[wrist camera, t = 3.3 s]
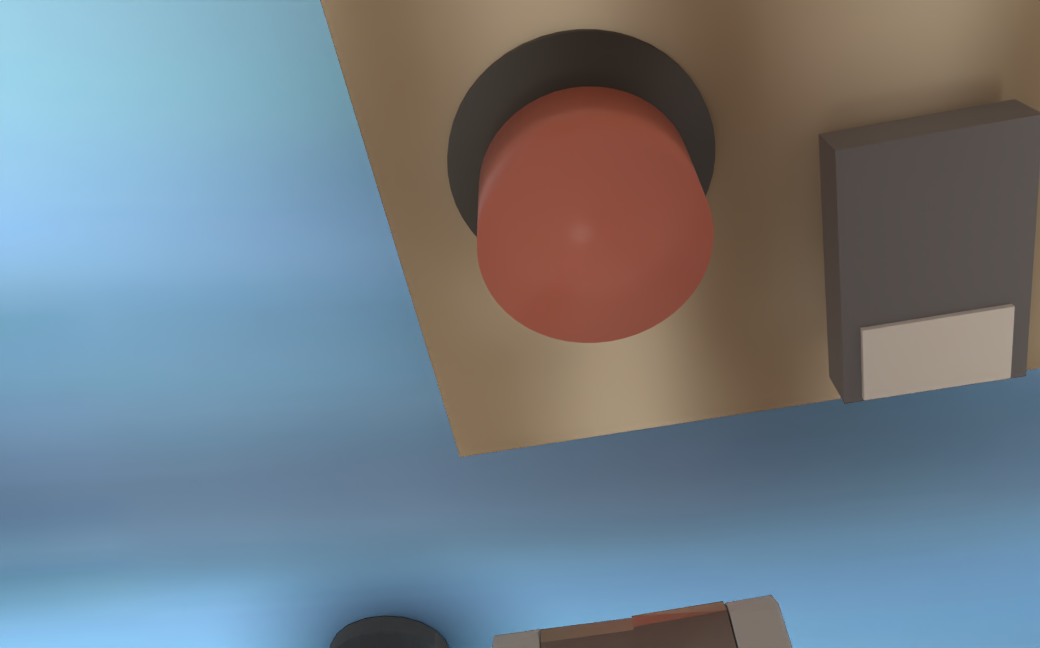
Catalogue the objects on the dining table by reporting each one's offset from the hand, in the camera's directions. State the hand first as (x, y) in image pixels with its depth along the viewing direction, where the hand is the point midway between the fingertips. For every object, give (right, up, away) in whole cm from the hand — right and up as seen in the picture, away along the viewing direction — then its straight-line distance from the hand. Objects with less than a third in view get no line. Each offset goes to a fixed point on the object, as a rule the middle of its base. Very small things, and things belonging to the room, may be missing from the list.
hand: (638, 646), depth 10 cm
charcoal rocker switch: (+8, +5, +10) cm, 14 cm away
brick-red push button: (0, +6, +9) cm, 11 cm away
